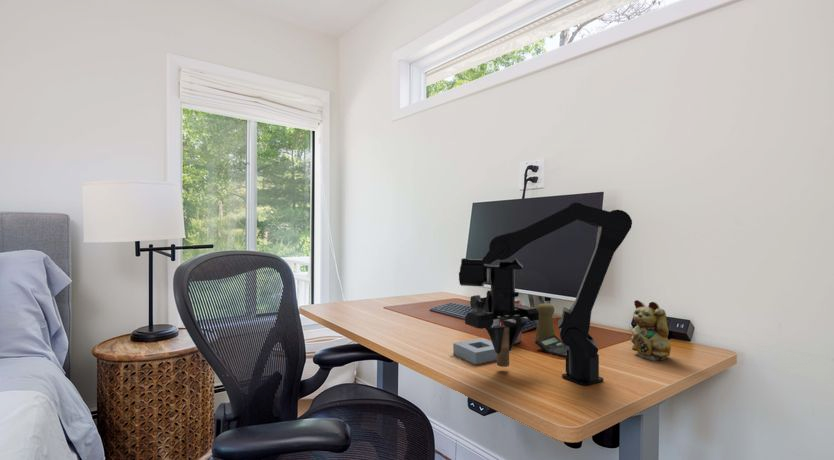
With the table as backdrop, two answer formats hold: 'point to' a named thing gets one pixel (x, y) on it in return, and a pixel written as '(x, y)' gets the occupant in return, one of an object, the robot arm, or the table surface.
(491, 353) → the socket block
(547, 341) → the calculator
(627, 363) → the table surface
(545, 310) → the cork
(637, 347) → the decorative figurine
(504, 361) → the peg
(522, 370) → the table surface
